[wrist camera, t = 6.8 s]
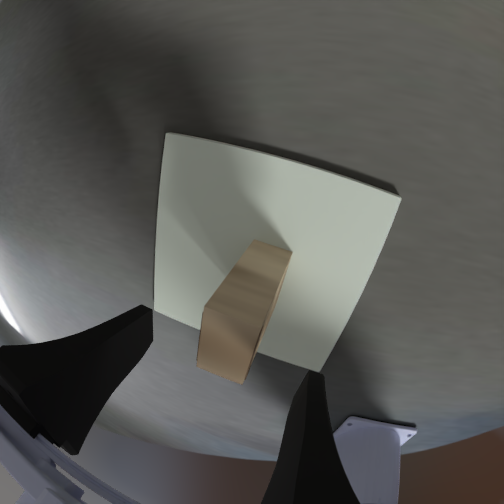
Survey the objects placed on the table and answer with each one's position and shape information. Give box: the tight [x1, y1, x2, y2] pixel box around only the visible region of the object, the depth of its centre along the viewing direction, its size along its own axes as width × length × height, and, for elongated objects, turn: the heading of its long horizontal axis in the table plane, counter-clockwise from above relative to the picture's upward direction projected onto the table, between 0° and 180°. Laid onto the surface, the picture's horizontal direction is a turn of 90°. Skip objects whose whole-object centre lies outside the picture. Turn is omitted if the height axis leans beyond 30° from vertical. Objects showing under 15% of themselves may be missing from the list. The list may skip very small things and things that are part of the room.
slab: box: [197, 239, 293, 385], centre depth 15 cm, size 4×2×7 cm, turn 168°
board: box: [154, 132, 402, 372], centre depth 19 cm, size 14×14×1 cm
